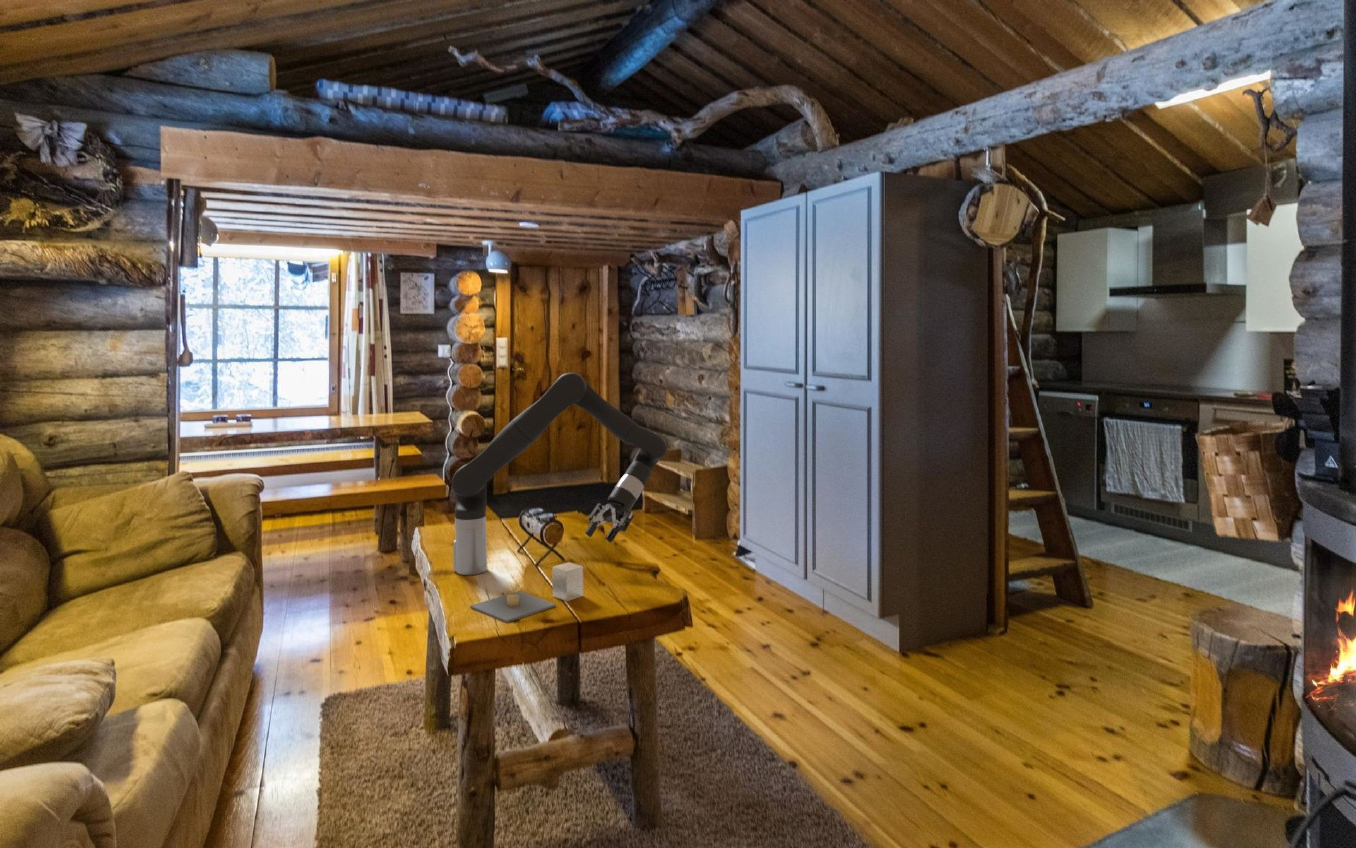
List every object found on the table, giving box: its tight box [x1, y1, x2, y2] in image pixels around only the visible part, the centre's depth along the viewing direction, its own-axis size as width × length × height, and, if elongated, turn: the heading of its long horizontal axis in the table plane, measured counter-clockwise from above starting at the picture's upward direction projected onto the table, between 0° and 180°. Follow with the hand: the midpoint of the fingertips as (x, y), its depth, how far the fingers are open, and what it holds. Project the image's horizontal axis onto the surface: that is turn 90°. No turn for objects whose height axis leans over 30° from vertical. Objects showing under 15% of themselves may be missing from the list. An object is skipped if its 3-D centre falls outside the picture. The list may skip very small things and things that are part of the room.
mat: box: [470, 590, 557, 624], centre depth 206 cm, size 16×16×3 cm
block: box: [551, 561, 584, 602], centre depth 214 cm, size 6×6×8 cm
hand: (597, 538), depth 222 cm, fingers open, 8 cm apart
